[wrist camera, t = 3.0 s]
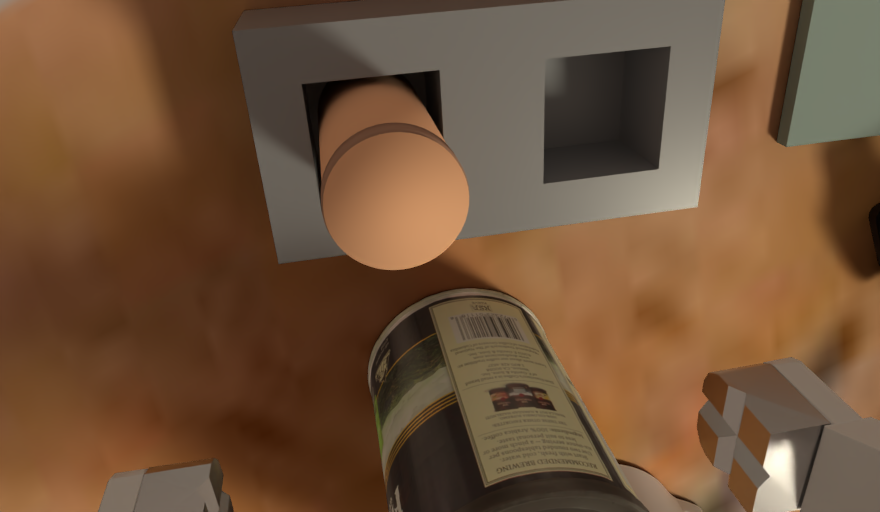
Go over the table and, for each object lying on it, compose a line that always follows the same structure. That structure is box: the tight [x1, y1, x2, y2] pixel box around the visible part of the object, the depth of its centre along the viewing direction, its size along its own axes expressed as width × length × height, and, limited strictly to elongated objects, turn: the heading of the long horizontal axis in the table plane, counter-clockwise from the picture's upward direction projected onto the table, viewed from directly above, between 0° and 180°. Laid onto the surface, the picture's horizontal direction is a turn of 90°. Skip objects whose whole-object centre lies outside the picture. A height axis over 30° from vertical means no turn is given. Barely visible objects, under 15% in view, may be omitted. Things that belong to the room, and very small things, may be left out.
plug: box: [318, 74, 469, 270], centre depth 24 cm, size 4×4×10 cm
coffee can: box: [368, 288, 649, 512], centre depth 31 cm, size 10×10×14 cm
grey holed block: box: [232, 0, 725, 264], centre depth 28 cm, size 9×18×5 cm, turn 93°
